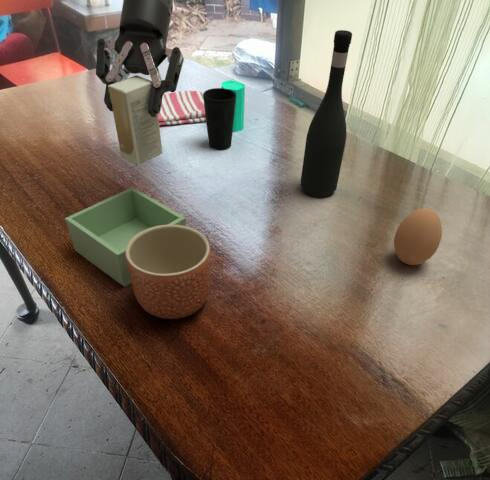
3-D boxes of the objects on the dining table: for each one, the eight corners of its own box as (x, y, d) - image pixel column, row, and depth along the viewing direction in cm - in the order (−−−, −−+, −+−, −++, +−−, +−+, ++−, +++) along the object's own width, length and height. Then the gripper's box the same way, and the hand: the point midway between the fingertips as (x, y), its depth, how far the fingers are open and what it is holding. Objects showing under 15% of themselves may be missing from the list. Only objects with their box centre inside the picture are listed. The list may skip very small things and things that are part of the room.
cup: (239, 140, 115) (240, 90, 106) (230, 154, 110) (230, 102, 101) (210, 136, 116) (209, 86, 107) (200, 149, 111) (198, 97, 102)
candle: (218, 123, 122) (218, 74, 113) (240, 121, 123) (241, 73, 114) (224, 132, 118) (224, 83, 109) (246, 130, 119) (248, 81, 110)
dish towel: (123, 105, 128) (121, 92, 125) (203, 97, 133) (202, 85, 131) (132, 130, 117) (130, 116, 114) (219, 121, 122) (219, 108, 120)
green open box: (124, 287, 76) (117, 255, 71) (74, 250, 82) (64, 218, 77) (188, 249, 84) (185, 217, 79) (137, 217, 90) (132, 186, 85)
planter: (120, 300, 74) (107, 246, 66) (179, 267, 80) (174, 214, 72) (167, 342, 68) (159, 288, 60) (227, 303, 74) (228, 250, 66)
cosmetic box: (146, 146, 83) (137, 73, 74) (163, 154, 81) (156, 80, 72) (119, 158, 79) (106, 84, 70) (136, 167, 78) (124, 91, 69)
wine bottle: (309, 176, 104) (332, 23, 82) (341, 186, 101) (373, 30, 79) (293, 191, 99) (313, 33, 77) (326, 202, 96) (356, 41, 74)
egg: (389, 272, 81) (407, 220, 73) (386, 246, 86) (402, 195, 78) (432, 277, 80) (455, 225, 73) (426, 251, 86) (447, 200, 78)
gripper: (94, -14, 69) (78, 95, 70) (185, -6, 68) (167, 106, 68) (114, 18, 77) (99, 117, 77) (196, 26, 75) (180, 127, 76)
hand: (131, 111), depth 73 cm, fingers closed on cosmetic box, 6 cm apart
